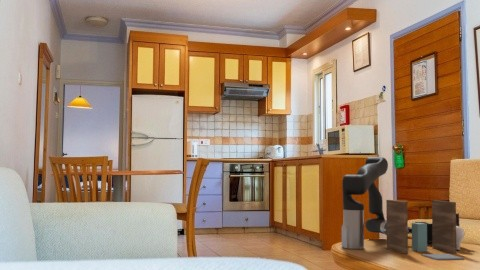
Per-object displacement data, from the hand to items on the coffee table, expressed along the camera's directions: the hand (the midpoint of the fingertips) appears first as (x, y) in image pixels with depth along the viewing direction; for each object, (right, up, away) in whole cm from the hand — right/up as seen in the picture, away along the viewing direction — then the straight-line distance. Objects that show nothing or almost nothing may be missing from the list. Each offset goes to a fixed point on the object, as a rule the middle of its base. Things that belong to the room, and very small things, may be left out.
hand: (407, 232), depth 236 cm
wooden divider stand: (+2, -6, -11) cm, 13 cm away
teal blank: (+2, -6, -10) cm, 12 cm away
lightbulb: (+20, -7, -8) cm, 22 cm away
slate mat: (+5, -5, -29) cm, 30 cm away
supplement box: (+22, -8, +6) cm, 24 cm away
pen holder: (+14, -9, +16) cm, 23 cm away
